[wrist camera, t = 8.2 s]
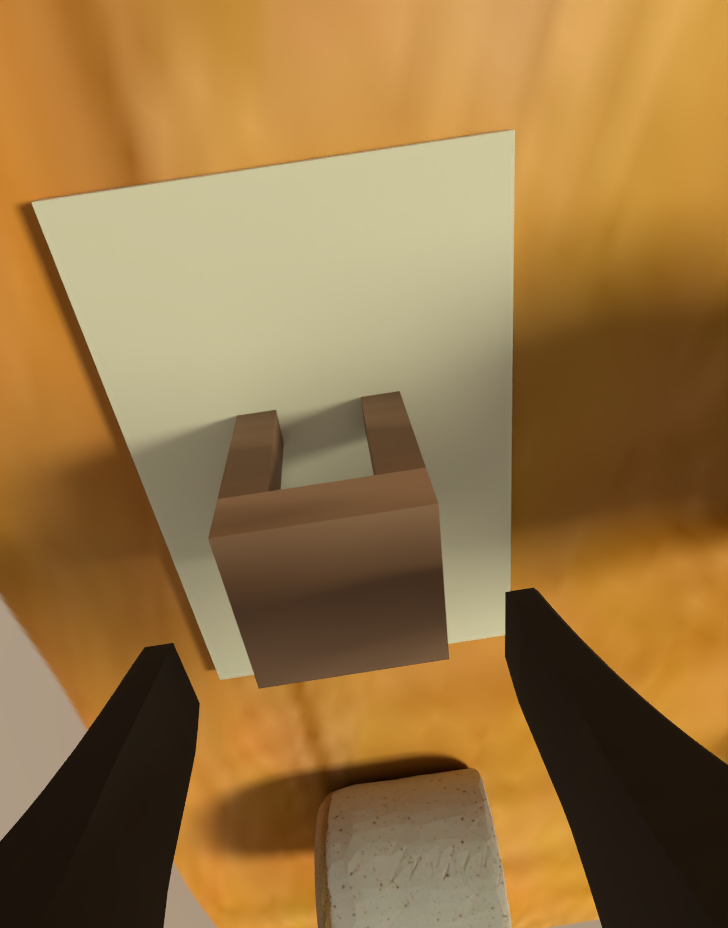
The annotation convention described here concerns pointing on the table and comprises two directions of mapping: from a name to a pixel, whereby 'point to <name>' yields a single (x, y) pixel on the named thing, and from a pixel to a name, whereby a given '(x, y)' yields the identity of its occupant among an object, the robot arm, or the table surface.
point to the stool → (331, 555)
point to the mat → (309, 340)
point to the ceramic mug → (410, 855)
